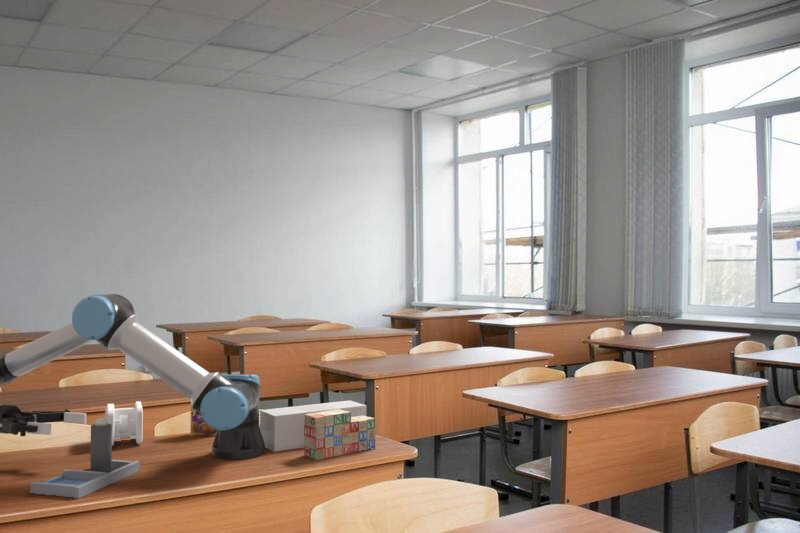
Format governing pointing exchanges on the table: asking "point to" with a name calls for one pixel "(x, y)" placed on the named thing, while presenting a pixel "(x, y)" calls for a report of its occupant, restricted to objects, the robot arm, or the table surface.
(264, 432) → the long white block
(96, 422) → the grey bottle
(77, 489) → the grey frame
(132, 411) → the cable organizer
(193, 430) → the candy box
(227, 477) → the table surface
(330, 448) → the stack of blocks
